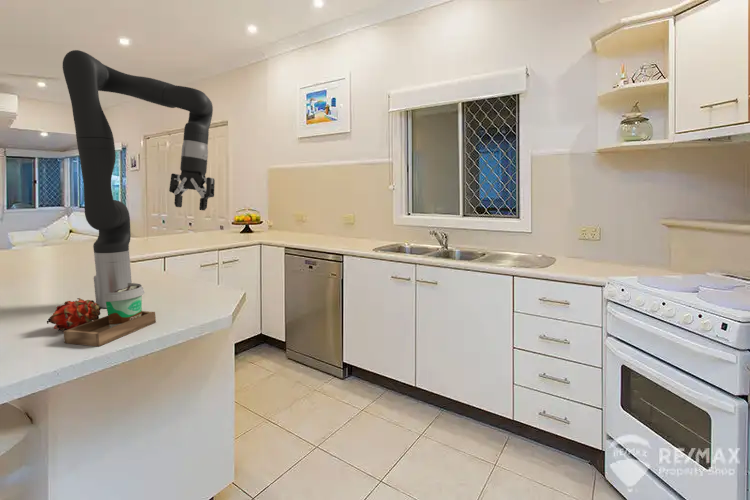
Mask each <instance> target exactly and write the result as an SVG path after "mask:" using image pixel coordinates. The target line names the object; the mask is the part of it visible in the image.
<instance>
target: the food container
mask: <svg viewBox="0 0 750 500" xmlns="http://www.w3.org/2000/svg"><path fill="white" fill-rule="evenodd" d="M145 293H146V292H145V289H144V287H143V285H142V284H141V283H135V282H133V283H128V287H126V288H124V289H118V290H117V291H115V292H114V293H105V296H104V302H106V306H107V308H106V312H107V316H108V319H109V326H110V328H112V327H114V326H117V325H120V324H122V323H125V322H127V321H130V320H133V319H135V318H138V317H140V316H142V311H143V308H142V307H143V303H142V302H143V295H145Z"/></svg>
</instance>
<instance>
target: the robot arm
mask: <svg viewBox="0 0 750 500" xmlns="http://www.w3.org/2000/svg"><path fill="white" fill-rule="evenodd" d="M62 72H63V75H64V79H65V80H64V81H65V83H66V88H67V91H68V94H69V98H70V102H71V109H72V115H73V116H72V117H73V122H74V124H73V125H74V129H75V137H76V139H75V140H76V144H77V151H78V155H79V162H80V170H81V175H82V182H83V198H84V199H83V204H84V205H83V206H84V207H83V208H84V217H85V220H86V222H87V224H89V226H90V227H91V228H93V229H94V230H97V231H98V237H97V239H96V240H95V242H94V243H93V246H92V248H93V256H94V265H95V267H94V268H95V275H94V276H93V284H94V296H95V303H97V304H99V306H100V308H101V309H102V308H103V309H107V306H106V302H104V296H105V293H114V292H115V291H117V290H118V289H124V288H126V287H128V283H132V271H131V258H130V257H131V256H130V242H131V235H132V233H131V219H130V218H131V217H130V212H129V209H128V207H127V206H126V205H125V204H124V203H123V202H122V201H119V200H118V199H117V200H116V199H114V196H113V190H112V177H113V172H114V168H115V164H116V158H117V155H116V147H115V146H116V145H115V139H114V135H113V131H112V127H111V125H110V123H109V121H108V119H107V117H106V115H105V113H104V110H103V107H102V105H101V100H100V96H99V92H106V93H107V92H108V93H115V94H121V95H124V96H125V95H126V96H129V97H133V98H135V99H139V100H142V101H146V102H149V103H152V104H156V105H158V106H163V107H165V108H170V109H175V108H177V109H180V110H184V111H187V112H189V114H188V120H187V123H185V124H184V128H183V129H184V130H183V141H182V145H181V156H180V167H179V169H180V174H178V173H171V175H170V182H169V189H168V190H169V192H170V193H172V194H174V202H173V203H174V206H175V208H182V207H183V195H184V193H185V192H187V191H188V190H194V191H196V192H197V193H198V195H199V196H200V198H199V208H198V209H199V211H206V209H208V199H210V198H214V197H215V178H213V177H209V176H208V177H206V174H207V170H208V169H207V168H208V157H209V148H208V146H209V135H210V126H211V123H212V120H213V119H212V118H213V111H214V107H213V102H212V101H211V99H210V98H209V97H208V96H207V94H206V93H205V92H204V91H202V90H199V89H196V88H194V87H188V86H182V85H176V84H172V83H169V82H166V81H163V80H159V79H155V78H151V77H148V76H140V75H132V74H129V73H128V74H127V73H124V72H122V71H119V70H116V69H114V68H112V67H109V66H108V65H106V64H104V63H102V62H101V61H100V60H99V59H97V58H96V57H94V56H93V55H91V54H89V53H87V52H85V51H82V50H80V49H73V50H70V51H69V52H67V53H66V54H65V55H64V57H63V60H62ZM204 184H206V185H204Z"/></svg>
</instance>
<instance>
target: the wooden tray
mask: <svg viewBox="0 0 750 500" xmlns="http://www.w3.org/2000/svg"><path fill="white" fill-rule="evenodd" d="M156 321H157V320H156V311H150V310H149V311H146V310H142V316H140V317H138V318H135V319H133V320H130V321H127V322H125V323H122V324H120V325H117V326H114V327H112V328H110V326H109V319H108V315H106V316H102V317H99V319H97V320H92V321H91V322H88V323H85V324H82V325H79V326H76V327H74V328H71V329H68V330H62V331H63V342H64V344H69V345H80V346H92V347H102V346H104V345H107V344H109V343H111V342H114V341H115V340H118V339H120V338H123V337H125V336H128V335H130V334H133V333H135V332H138V331H139V330H141V329H144V328H146V327H148V326H150V325H151V326H152V325H153V324H156V323H157V322H156Z"/></svg>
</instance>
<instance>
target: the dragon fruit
mask: <svg viewBox="0 0 750 500" xmlns="http://www.w3.org/2000/svg"><path fill="white" fill-rule="evenodd" d="M76 299H77V300H75V301H74V300H73V301H71V300H66V301H65V302H64V304H62V305H58V306H57V307H56V309H55V311H54V312H52V314H51V316H50V317H48V319H47V321H46V324H49V323H50V324H52V325H54V326H53V330H58V332H59V331H60V332H61V331H65V330H68V329H71V328H74V327H76V326H79V325H82V324H85V323H88V322H91V321H94V320H97V319H99V318H100V317H99V316H101V309H102V307H100V306H99V304H97V303H96V302H95V300H94V299H86V300H84V299H82V298H80V297H79V298H76Z"/></svg>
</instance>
